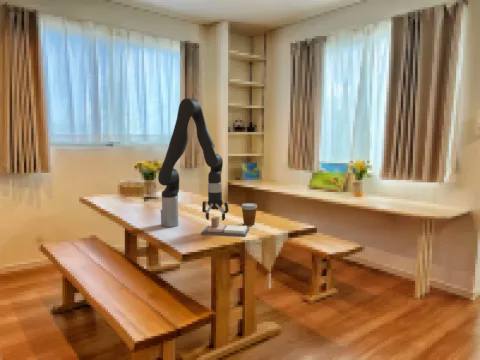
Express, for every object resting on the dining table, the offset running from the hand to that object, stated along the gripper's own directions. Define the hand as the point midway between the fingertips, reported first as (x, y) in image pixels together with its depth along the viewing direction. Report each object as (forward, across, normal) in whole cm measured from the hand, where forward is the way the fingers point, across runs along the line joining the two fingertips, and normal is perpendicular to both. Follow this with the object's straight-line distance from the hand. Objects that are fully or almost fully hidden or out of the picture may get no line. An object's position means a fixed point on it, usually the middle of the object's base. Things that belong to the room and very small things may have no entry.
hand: (215, 220), depth 193 cm
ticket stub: (+5, +1, 0) cm, 5 cm away
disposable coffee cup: (+7, +16, +18) cm, 25 cm away
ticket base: (+6, +6, 0) cm, 9 cm away
